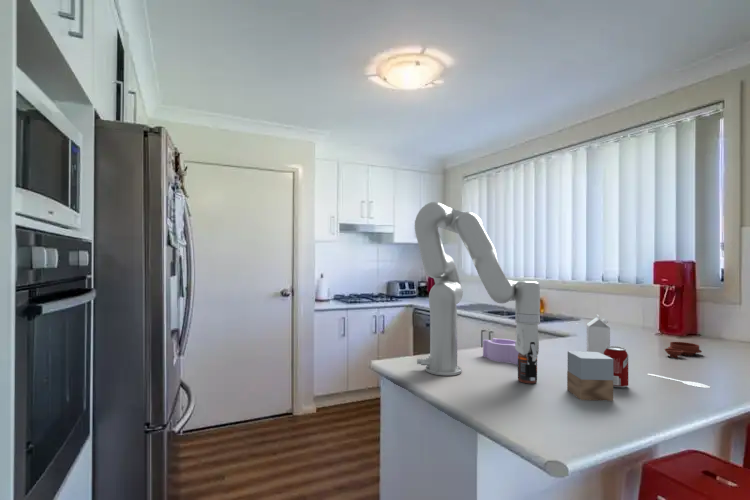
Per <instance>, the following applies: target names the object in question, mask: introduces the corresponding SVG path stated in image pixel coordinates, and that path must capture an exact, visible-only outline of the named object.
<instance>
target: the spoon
mask: <svg viewBox="0 0 750 500" xmlns="http://www.w3.org/2000/svg"><path fill="white" fill-rule="evenodd" d="M647 376H652V377H655V376H656V377H655V378H661V379H664V380H669V379H670V380H669V381H674V382H680V383H682V384H684V385H686V386H690V387H695V388H702V389H704V388H705V389H711V386H710V385H706V384H704V383H700V382H697V381H687V380H681V379H675V378H672V377H667V376H663V375H658V374H656V373H654V374H653V373H647Z"/></svg>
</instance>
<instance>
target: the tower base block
mask: <svg viewBox="0 0 750 500" xmlns="http://www.w3.org/2000/svg"><path fill="white" fill-rule="evenodd" d="M566 375H567V377H566V379H567V381H566V383H567V384H566V386H567V387H566V388H567V391H568V392H569V391H570V392H569V393H570V394H572V395H573V394H574V395H573V396H575V397H576V396H577V397H576V398H578V399H579V400H580V399H581V400H580V401H603V400H607V402H609V401H610V402H614V387H613V380H582V379H580V378H578V377H576V376H575V375H573V374H572V373H570V372H568V370H567V373H566Z"/></svg>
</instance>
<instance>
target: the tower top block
mask: <svg viewBox="0 0 750 500" xmlns="http://www.w3.org/2000/svg"><path fill="white" fill-rule="evenodd" d="M567 371H568V372H570V373H572V374H573V375H575V376H576V377H578V378H580V379H582V380H613V359H612V358H610V357H608V356H606V355H603V354H601V353H599V352H587V351H573V350H571V351H570V350H568V351H567Z"/></svg>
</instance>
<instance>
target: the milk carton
mask: <svg viewBox="0 0 750 500" xmlns="http://www.w3.org/2000/svg"><path fill="white" fill-rule="evenodd" d="M608 323H609V321H607V320H606V319H605V318H604V317H602V319H600V315H599V314H596V317H594V318H593V319H592V320H590V321H589V322H587V323H586V352H599V353H601V354H603V355H604V351H605V350H606V346H611V328H610V326H608V325H607V324H608Z"/></svg>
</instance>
